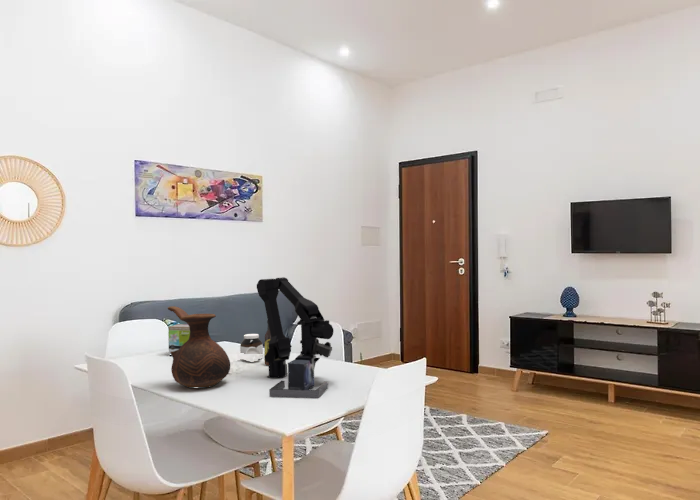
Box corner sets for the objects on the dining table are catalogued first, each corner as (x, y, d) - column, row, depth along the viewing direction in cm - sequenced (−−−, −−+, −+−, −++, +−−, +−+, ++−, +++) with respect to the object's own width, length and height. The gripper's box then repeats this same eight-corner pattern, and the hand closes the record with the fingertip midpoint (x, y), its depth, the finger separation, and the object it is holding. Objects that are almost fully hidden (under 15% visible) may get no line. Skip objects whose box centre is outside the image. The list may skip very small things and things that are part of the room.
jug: (211, 375, 224) (210, 302, 224) (241, 383, 208) (239, 304, 208) (160, 385, 209) (159, 306, 209) (188, 395, 193) (186, 310, 193)
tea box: (168, 356, 269) (167, 326, 269) (177, 352, 279) (177, 323, 279) (197, 356, 266) (196, 326, 266) (205, 352, 276) (205, 323, 276)
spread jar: (254, 357, 261) (254, 332, 261) (270, 359, 254) (270, 334, 254) (234, 361, 252) (234, 336, 252) (250, 364, 245) (250, 338, 245)
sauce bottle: (267, 366, 239) (266, 321, 239) (262, 364, 244) (261, 319, 244) (281, 364, 242) (280, 319, 242) (276, 362, 247) (275, 318, 247)
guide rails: (269, 396, 188) (269, 389, 188) (281, 387, 201) (281, 380, 201) (318, 398, 185) (318, 390, 185) (327, 388, 198) (327, 381, 198)
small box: (304, 393, 191) (303, 363, 191) (287, 392, 193) (286, 362, 193) (315, 385, 202) (314, 357, 201) (299, 385, 204) (298, 356, 203)
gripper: (324, 341, 196) (325, 384, 196) (335, 333, 215) (336, 373, 215) (294, 341, 198) (295, 384, 198) (307, 333, 217) (308, 372, 217)
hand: (310, 378), depth 207 cm, fingers closed on small box
